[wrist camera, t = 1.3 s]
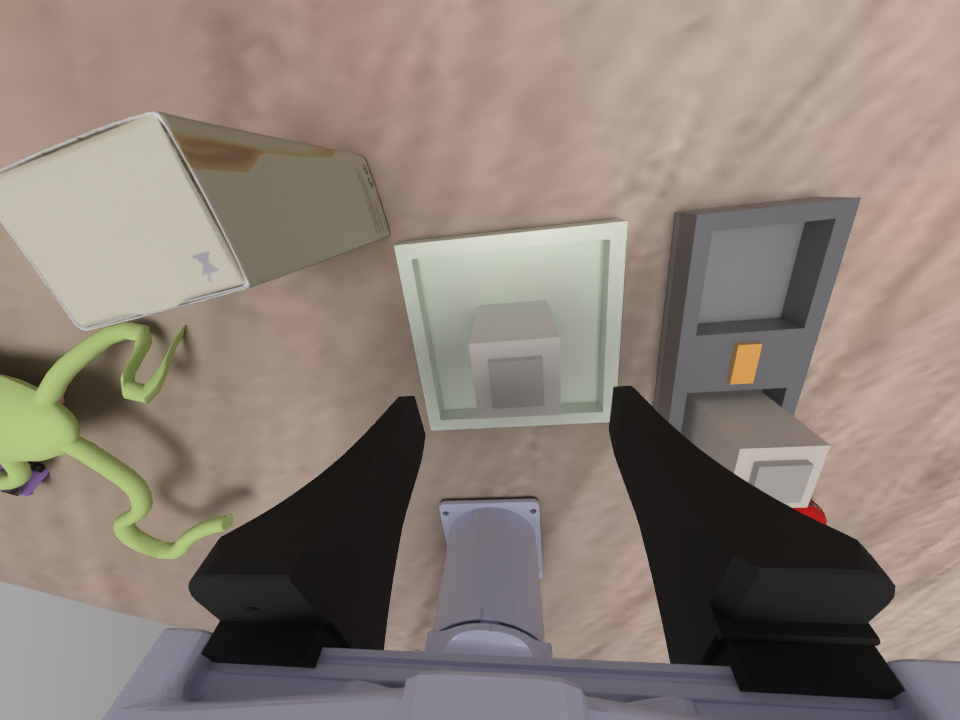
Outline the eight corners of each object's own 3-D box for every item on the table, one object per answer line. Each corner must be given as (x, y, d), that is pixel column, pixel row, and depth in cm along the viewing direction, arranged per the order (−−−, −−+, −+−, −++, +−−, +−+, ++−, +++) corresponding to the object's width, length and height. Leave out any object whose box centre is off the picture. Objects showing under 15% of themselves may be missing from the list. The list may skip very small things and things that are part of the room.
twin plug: (739, 436, 24) (813, 513, 18) (676, 438, 24) (729, 515, 19) (751, 384, 22) (837, 450, 16) (684, 387, 23) (745, 454, 17)
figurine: (265, 519, 32) (220, 580, 27) (-30, 471, 32) (-130, 523, 27) (235, 329, 24) (164, 365, 19) (-157, 264, 24) (-333, 283, 19)
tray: (608, 406, 24) (615, 421, 23) (435, 415, 26) (430, 430, 24) (617, 218, 19) (627, 220, 18) (402, 241, 21) (393, 245, 19)
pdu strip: (752, 447, 25) (779, 475, 22) (648, 451, 26) (663, 478, 23) (818, 197, 18) (866, 197, 16) (675, 212, 19) (700, 215, 17)
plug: (547, 361, 23) (562, 419, 17) (484, 365, 23) (477, 423, 17) (545, 299, 21) (561, 340, 15) (478, 305, 21) (467, 347, 16)
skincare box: (365, 152, 19) (165, 95, 8) (393, 237, 21) (262, 288, 10) (259, 185, 20) (-50, 176, 9) (294, 263, 22) (72, 337, 11)
